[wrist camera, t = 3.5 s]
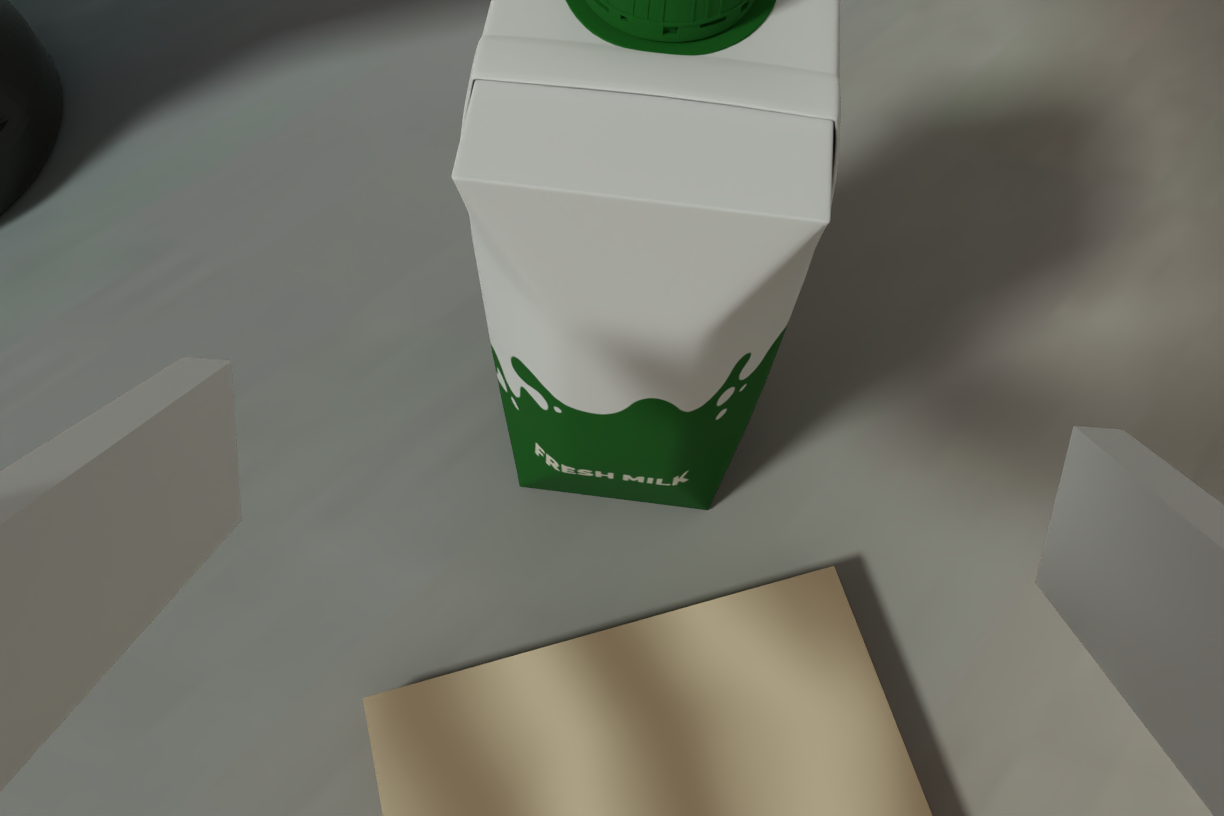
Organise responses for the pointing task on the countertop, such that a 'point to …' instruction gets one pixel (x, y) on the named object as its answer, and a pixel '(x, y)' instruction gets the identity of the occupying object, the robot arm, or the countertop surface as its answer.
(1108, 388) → the countertop surface
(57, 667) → the robot arm
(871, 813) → the oak board
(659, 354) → the milk carton
